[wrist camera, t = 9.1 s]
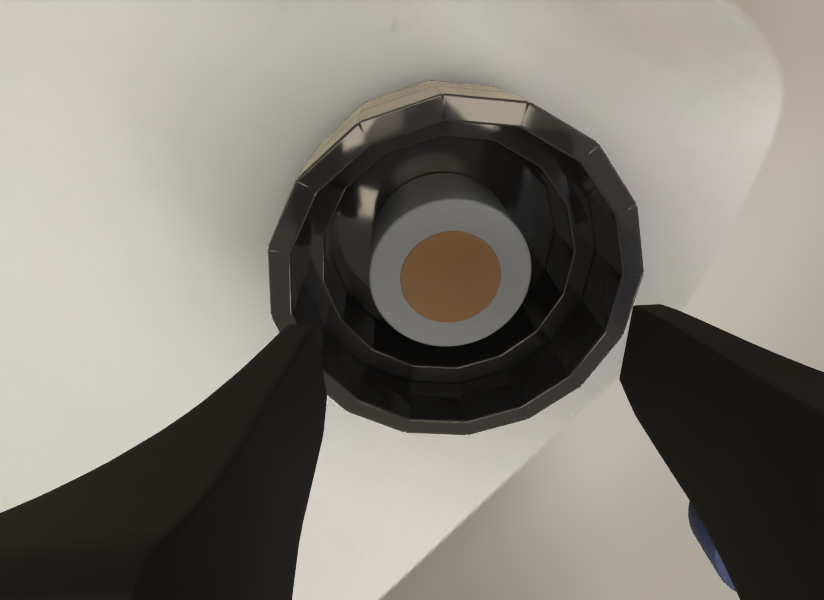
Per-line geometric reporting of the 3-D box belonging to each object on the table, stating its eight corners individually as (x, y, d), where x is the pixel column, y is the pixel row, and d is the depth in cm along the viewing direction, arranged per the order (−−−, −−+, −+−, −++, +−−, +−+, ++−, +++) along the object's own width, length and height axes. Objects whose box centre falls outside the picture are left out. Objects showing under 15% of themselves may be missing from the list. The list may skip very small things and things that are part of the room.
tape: (536, 212, 17) (565, 244, 14) (465, 321, 19) (478, 369, 16) (412, 145, 16) (416, 167, 13) (349, 269, 18) (342, 312, 15)
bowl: (643, 174, 17) (722, 216, 13) (487, 390, 21) (510, 472, 17) (373, 14, 14) (368, 4, 10) (255, 294, 18) (218, 365, 14)
